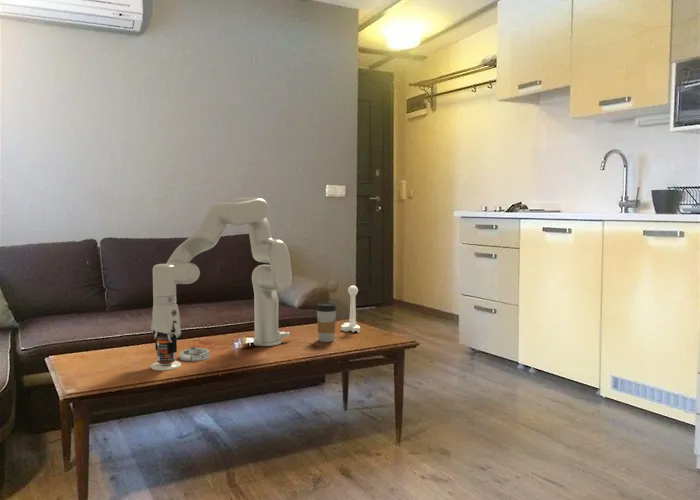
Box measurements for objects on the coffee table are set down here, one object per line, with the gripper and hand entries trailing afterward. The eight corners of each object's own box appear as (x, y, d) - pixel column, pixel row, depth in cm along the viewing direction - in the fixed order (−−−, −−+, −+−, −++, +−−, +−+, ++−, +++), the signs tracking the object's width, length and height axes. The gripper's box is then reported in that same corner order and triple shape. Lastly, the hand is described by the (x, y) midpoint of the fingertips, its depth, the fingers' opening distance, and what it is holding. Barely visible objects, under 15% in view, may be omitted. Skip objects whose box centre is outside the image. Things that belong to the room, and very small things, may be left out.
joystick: (362, 332, 255) (362, 287, 254) (346, 333, 252) (346, 288, 251) (352, 327, 266) (352, 283, 264) (336, 328, 263) (337, 284, 261)
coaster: (179, 361, 209) (178, 359, 209) (182, 368, 199) (182, 366, 199) (149, 364, 205) (149, 362, 205) (152, 371, 195) (152, 370, 195)
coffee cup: (334, 343, 236) (334, 306, 235) (314, 342, 237) (314, 305, 236) (338, 338, 244) (338, 302, 243) (318, 337, 245) (318, 302, 244)
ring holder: (206, 352, 220) (206, 345, 220) (211, 359, 211) (211, 352, 211) (178, 355, 216) (178, 348, 216) (182, 362, 207) (182, 355, 207)
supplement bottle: (157, 365, 198) (156, 332, 197) (157, 360, 204) (156, 328, 203) (175, 363, 200) (174, 331, 199) (175, 359, 206) (173, 327, 205)
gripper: (190, 301, 198) (191, 353, 200) (158, 295, 208) (160, 345, 210) (171, 304, 192) (172, 358, 194) (140, 298, 202) (141, 349, 204)
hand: (166, 350), depth 202 cm, fingers open, 6 cm apart
